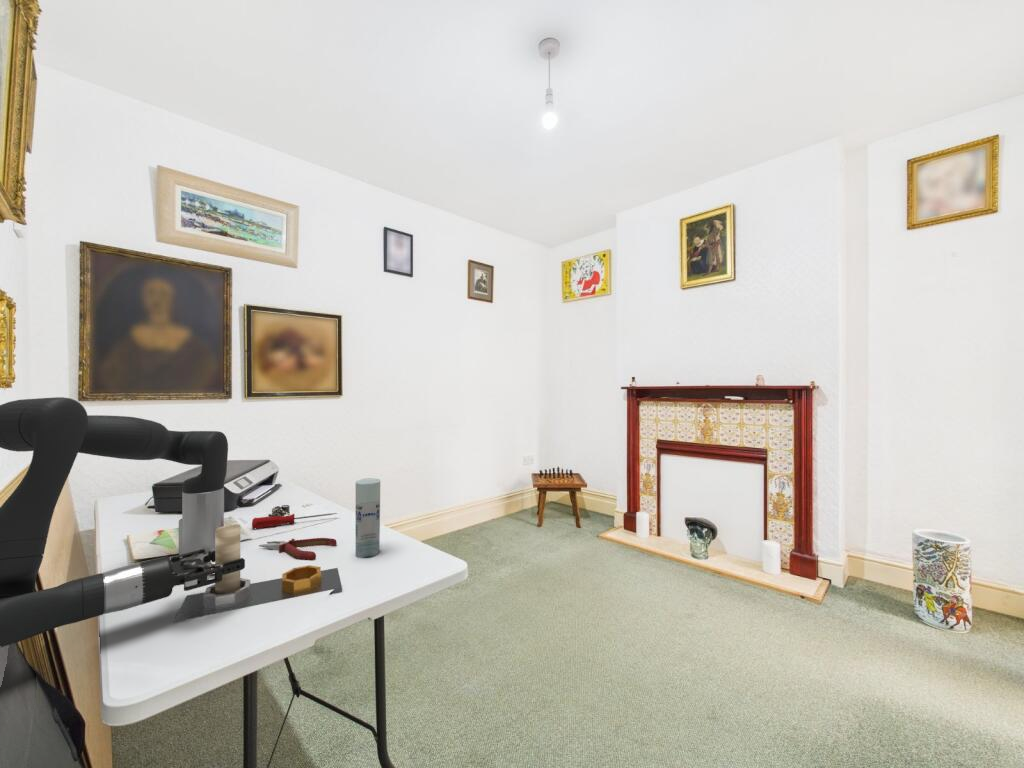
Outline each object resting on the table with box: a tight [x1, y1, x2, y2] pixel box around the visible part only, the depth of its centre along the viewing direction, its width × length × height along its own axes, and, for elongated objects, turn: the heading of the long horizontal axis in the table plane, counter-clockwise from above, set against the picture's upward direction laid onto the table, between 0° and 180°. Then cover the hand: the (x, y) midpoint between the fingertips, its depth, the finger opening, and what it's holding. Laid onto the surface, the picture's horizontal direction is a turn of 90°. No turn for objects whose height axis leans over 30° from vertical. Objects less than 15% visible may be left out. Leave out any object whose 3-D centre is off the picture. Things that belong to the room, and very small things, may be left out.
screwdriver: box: [251, 512, 338, 530], centre depth 138 cm, size 4×25×4 cm, turn 116°
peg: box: [214, 524, 241, 595], centre depth 88 cm, size 4×4×15 cm
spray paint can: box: [355, 477, 381, 559], centre depth 114 cm, size 6×6×20 cm
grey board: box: [173, 565, 343, 623], centre depth 91 cm, size 30×11×4 cm, turn 118°
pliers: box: [258, 537, 338, 561], centre depth 117 cm, size 12×20×3 cm, turn 79°
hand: (237, 557), depth 89 cm, fingers open, 8 cm apart
